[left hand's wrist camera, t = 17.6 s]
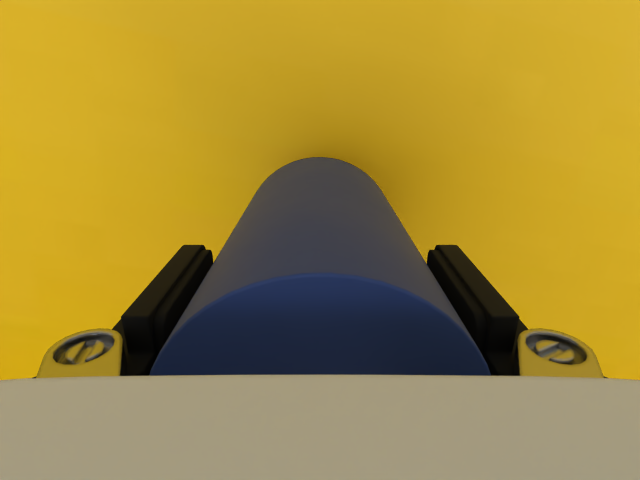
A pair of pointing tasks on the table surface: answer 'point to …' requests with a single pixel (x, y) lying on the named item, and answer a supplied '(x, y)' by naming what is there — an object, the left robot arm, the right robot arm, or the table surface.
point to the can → (319, 289)
